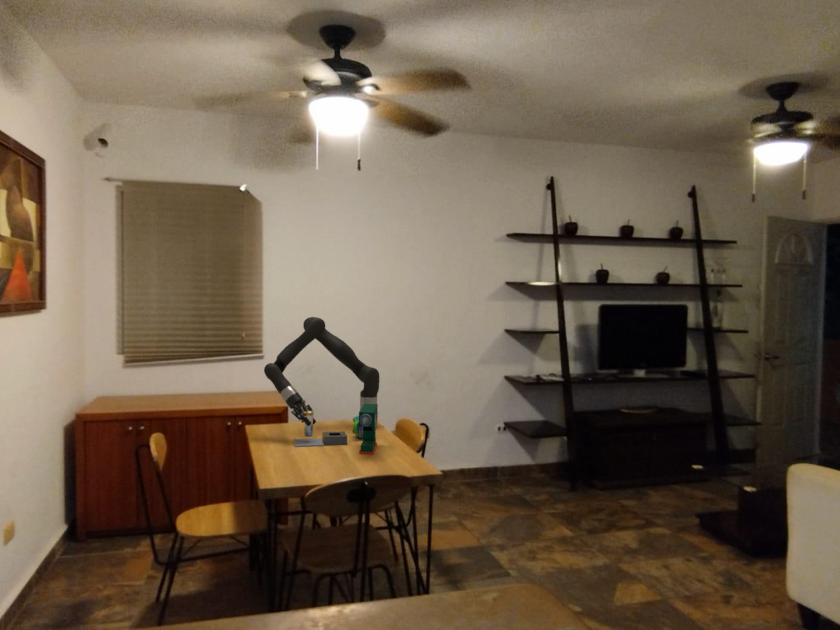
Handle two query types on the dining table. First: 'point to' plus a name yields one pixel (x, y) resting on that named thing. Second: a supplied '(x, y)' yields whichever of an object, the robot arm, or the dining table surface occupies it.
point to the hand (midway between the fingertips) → (312, 424)
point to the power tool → (368, 428)
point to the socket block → (334, 438)
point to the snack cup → (357, 428)
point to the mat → (308, 442)
